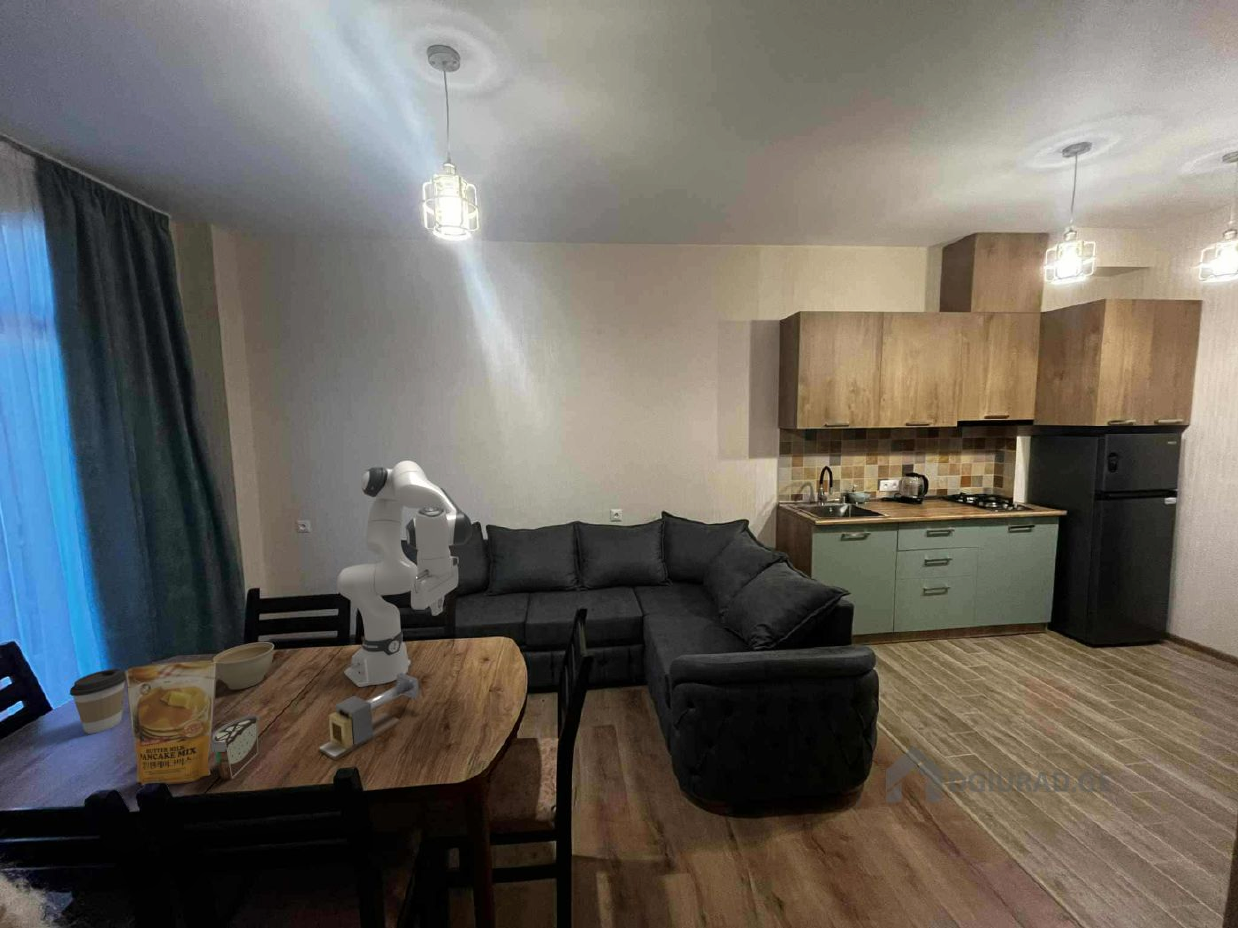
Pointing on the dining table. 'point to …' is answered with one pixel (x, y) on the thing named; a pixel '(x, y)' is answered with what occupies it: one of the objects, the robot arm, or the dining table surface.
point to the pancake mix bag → (172, 719)
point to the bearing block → (357, 718)
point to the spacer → (346, 729)
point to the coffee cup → (99, 699)
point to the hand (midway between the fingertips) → (437, 613)
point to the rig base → (378, 726)
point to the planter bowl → (244, 664)
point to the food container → (236, 745)
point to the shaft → (397, 691)
